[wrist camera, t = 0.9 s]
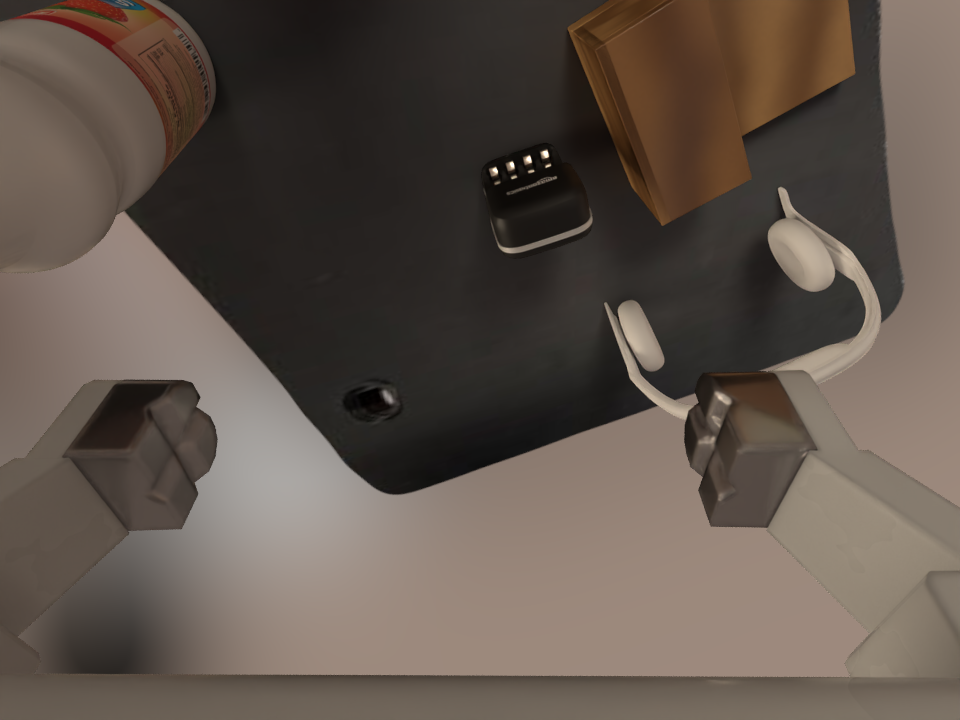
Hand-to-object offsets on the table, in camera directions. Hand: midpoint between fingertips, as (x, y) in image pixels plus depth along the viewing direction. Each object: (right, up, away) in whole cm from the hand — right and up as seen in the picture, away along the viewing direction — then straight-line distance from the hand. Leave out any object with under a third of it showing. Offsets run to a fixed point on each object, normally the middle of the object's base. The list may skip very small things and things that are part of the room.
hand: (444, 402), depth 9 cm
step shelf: (+18, +24, +33) cm, 45 cm away
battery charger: (+4, +17, +37) cm, 41 cm away
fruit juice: (-23, +21, +30) cm, 43 cm away
